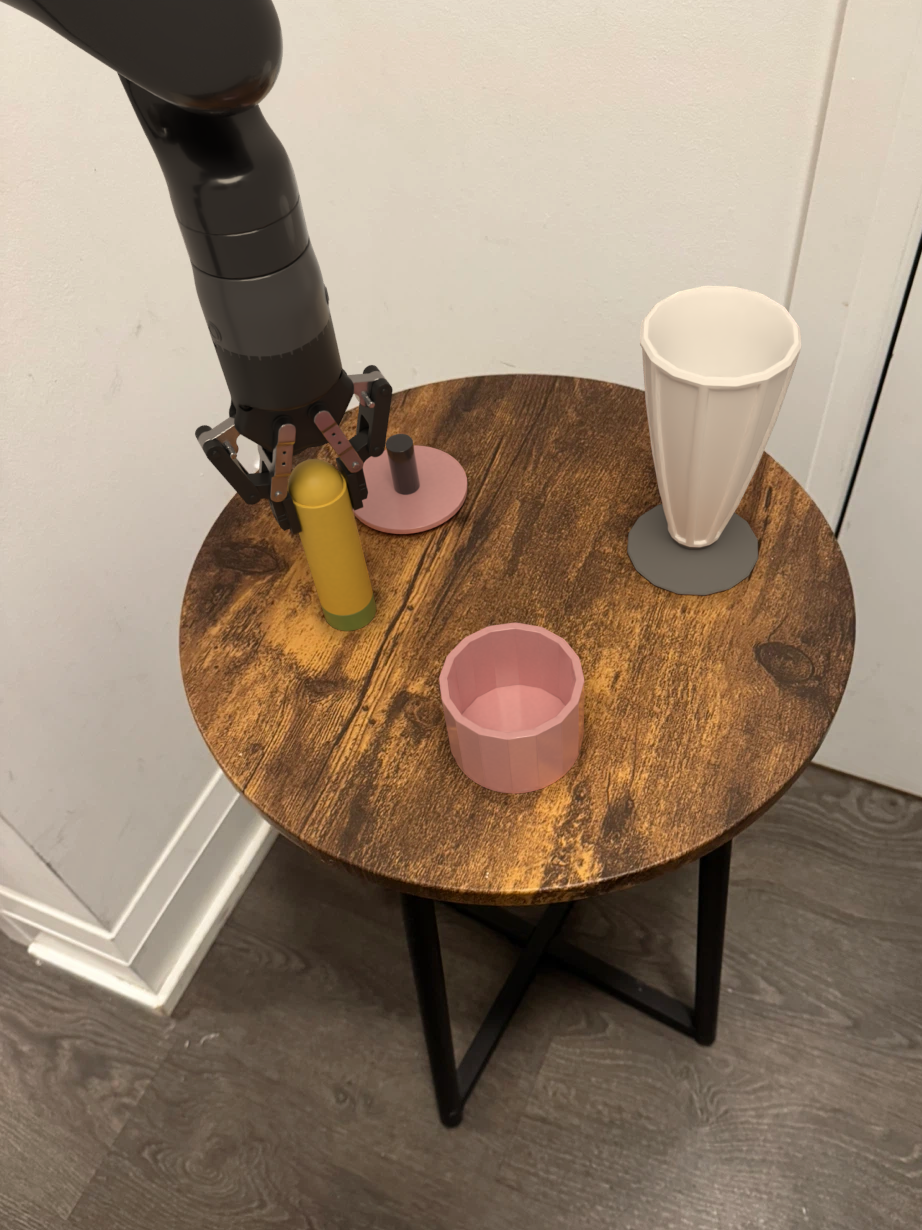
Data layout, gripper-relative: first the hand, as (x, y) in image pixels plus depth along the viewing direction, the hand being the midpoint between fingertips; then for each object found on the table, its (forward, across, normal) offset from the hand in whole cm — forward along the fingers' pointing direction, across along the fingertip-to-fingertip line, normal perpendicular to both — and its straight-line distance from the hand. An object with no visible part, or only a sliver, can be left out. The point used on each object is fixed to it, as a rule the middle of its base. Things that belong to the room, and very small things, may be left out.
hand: (323, 513), depth 78 cm
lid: (+11, -10, -10) cm, 18 cm away
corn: (+11, 0, 0) cm, 11 cm away
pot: (+11, -6, +18) cm, 22 cm away
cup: (+11, -29, +8) cm, 32 cm away
